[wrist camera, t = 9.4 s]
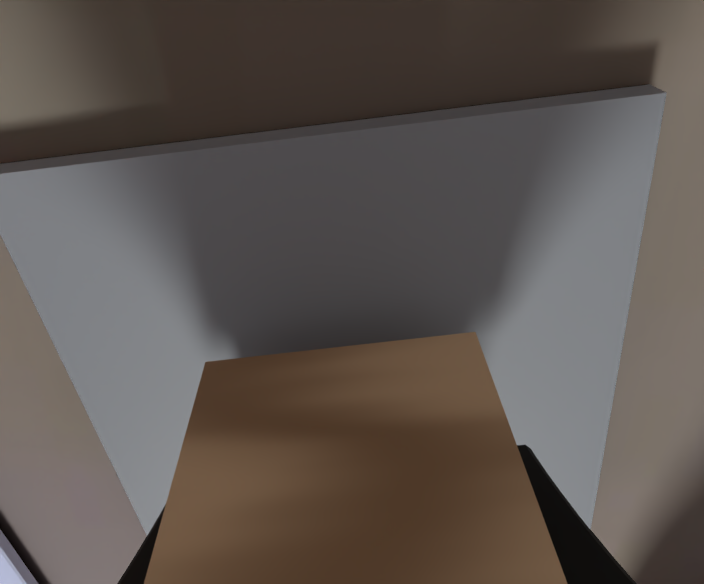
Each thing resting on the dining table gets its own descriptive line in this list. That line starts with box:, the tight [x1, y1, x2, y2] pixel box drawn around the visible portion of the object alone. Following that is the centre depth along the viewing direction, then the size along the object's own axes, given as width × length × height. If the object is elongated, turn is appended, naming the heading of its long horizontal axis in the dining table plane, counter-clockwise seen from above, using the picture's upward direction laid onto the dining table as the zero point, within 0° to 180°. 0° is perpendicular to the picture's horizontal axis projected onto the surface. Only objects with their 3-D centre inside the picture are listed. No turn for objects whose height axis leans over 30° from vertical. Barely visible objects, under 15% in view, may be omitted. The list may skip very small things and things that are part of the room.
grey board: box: [0, 84, 666, 535], centre depth 13 cm, size 12×12×1 cm
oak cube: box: [144, 332, 567, 584], centre depth 10 cm, size 5×5×5 cm
